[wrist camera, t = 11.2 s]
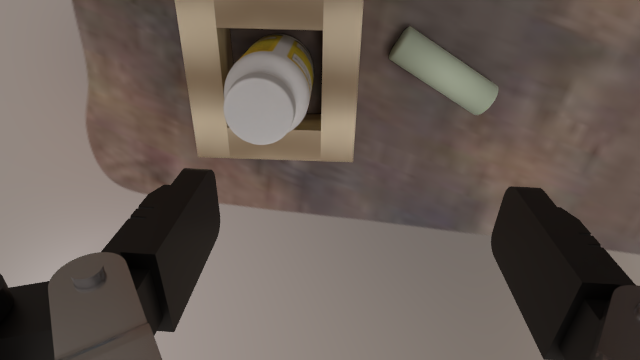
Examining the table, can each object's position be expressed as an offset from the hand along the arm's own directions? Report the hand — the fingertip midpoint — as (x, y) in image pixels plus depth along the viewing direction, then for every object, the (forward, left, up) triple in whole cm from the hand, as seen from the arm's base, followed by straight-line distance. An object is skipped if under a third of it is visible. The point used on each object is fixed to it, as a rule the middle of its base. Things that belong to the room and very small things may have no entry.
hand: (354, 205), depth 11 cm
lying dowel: (+2, +7, -19) cm, 20 cm away
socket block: (+1, -5, -21) cm, 22 cm away
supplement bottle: (+1, -5, -21) cm, 22 cm away
